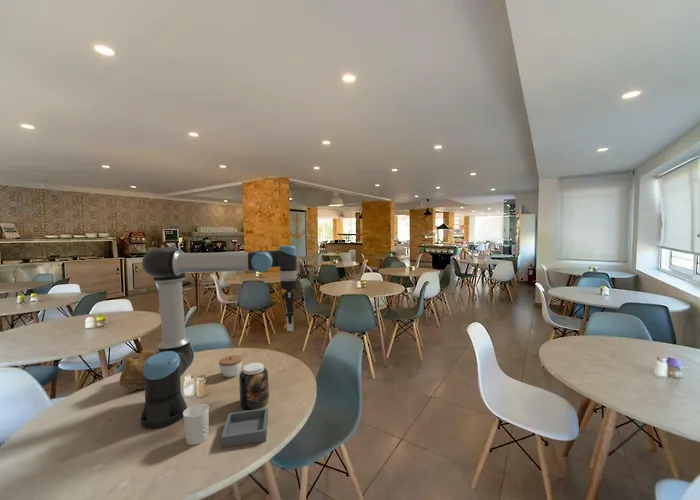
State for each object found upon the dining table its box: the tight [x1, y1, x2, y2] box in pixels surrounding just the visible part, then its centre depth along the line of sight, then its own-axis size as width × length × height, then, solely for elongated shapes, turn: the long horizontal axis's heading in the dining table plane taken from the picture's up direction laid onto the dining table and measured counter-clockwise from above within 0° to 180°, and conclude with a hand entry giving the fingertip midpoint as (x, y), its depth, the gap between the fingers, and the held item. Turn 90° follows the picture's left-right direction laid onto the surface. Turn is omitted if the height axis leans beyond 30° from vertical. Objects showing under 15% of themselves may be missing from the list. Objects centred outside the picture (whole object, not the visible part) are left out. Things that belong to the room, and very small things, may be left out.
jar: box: [238, 362, 270, 411], centre depth 124 cm, size 12×12×15 cm
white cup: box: [182, 403, 210, 446], centre depth 102 cm, size 8×8×10 cm
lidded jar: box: [218, 355, 243, 378], centre depth 151 cm, size 11×11×9 cm
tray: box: [220, 407, 269, 449], centre depth 106 cm, size 14×14×4 cm
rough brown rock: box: [119, 349, 157, 393], centre depth 142 cm, size 23×17×15 cm
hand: (289, 326), depth 137 cm, fingers open, 13 cm apart
